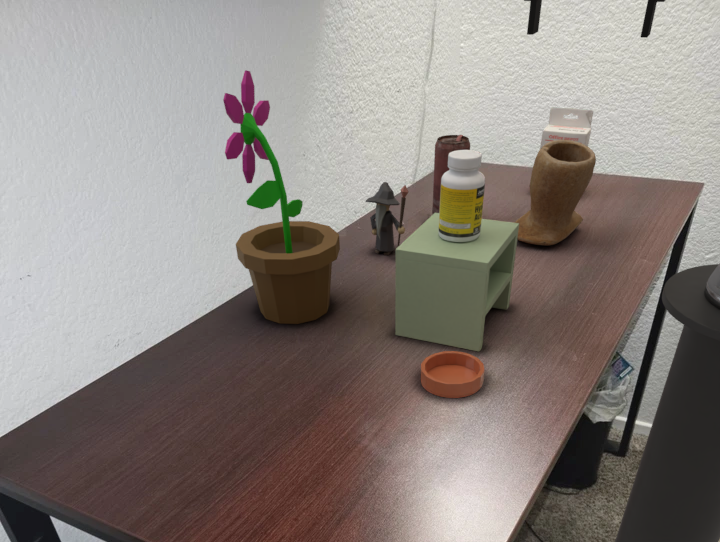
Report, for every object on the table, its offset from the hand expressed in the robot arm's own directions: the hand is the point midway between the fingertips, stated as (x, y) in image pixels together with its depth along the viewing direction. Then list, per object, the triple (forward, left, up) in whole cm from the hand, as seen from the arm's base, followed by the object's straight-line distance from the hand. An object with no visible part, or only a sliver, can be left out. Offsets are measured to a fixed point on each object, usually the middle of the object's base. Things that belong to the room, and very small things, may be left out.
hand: (587, 34), depth 81 cm
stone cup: (+4, -18, -32) cm, 37 cm away
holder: (+4, +33, -32) cm, 46 cm away
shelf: (+9, +18, -32) cm, 38 cm away
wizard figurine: (+27, -1, -32) cm, 42 cm away
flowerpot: (+32, +23, -32) cm, 51 cm away
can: (+23, -19, -32) cm, 44 cm away
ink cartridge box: (+8, -41, -32) cm, 53 cm away
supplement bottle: (+9, +18, -20) cm, 28 cm away
